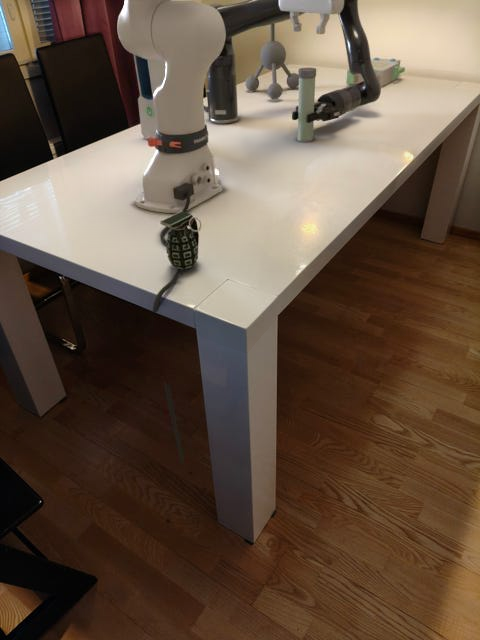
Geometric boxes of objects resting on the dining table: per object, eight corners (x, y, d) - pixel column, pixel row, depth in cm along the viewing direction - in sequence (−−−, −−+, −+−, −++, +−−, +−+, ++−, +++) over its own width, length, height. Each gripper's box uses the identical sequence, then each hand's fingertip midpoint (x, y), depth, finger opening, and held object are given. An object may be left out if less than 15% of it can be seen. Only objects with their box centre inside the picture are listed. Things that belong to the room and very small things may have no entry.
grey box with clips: (365, 55, 208) (411, 58, 198) (363, 72, 212) (408, 76, 202) (337, 67, 192) (386, 71, 182) (336, 85, 196) (383, 90, 186)
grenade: (182, 278, 88) (175, 228, 82) (162, 268, 91) (153, 219, 85) (208, 263, 92) (203, 214, 85) (187, 253, 95) (181, 205, 89)
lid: (318, 76, 134) (318, 70, 133) (301, 78, 133) (301, 71, 132) (312, 73, 137) (312, 66, 136) (296, 75, 137) (296, 68, 136)
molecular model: (318, 92, 188) (323, -1, 170) (273, 103, 179) (272, 6, 161) (281, 82, 204) (281, -3, 186) (237, 91, 195) (233, 3, 176)
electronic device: (141, 137, 154) (123, 28, 136) (159, 131, 158) (144, 24, 140) (166, 145, 147) (151, 30, 129) (185, 138, 151) (172, 26, 133)
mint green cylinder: (314, 140, 144) (317, 71, 133) (300, 142, 144) (302, 73, 132) (309, 136, 148) (312, 68, 137) (295, 137, 147) (296, 70, 136)
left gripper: (273, -31, 125) (273, 31, 134) (332, -31, 112) (328, 37, 121) (290, -33, 128) (290, 28, 137) (350, -33, 115) (345, 34, 124)
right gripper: (316, 88, 151) (281, 100, 142) (355, 94, 143) (320, 107, 134) (315, 113, 156) (280, 126, 146) (353, 120, 148) (319, 135, 138)
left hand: (308, 32), depth 129 cm, fingers open, 7 cm apart
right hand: (300, 117), depth 140 cm, fingers closed on mint green cylinder, 4 cm apart
